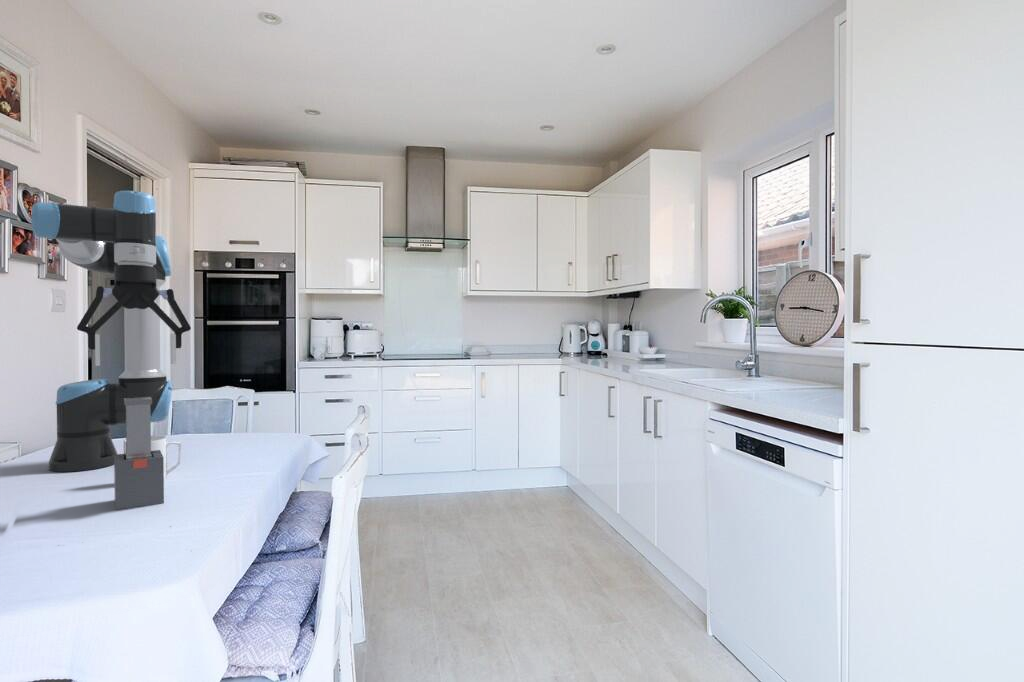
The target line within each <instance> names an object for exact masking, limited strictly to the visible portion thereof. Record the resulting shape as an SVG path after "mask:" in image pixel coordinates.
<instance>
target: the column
mask: <svg viewBox="0 0 1024 682" xmlns="http://www.w3.org/2000/svg"><path fill="white" fill-rule="evenodd" d="M150 404H152V398H151V397H140V398H124V405H125V406H126V424H125V439H126V460H129V459H138V458H147V457H152V454H151V435H152V432H151V431H152V429H151V426H152V425H151V424H152V422H151V411H150Z"/></svg>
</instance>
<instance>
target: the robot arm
mask: <svg viewBox="0 0 1024 682" xmlns="http://www.w3.org/2000/svg"><path fill="white" fill-rule="evenodd" d="M113 196H114V197H113V204H112V206H113V207H112V208H108V207H107V208H106V207H96V206H85V205H77V204H76V205H75V204H65V203H56V202H42V201H41V202H39V201H38V202H35V203H33V205H32V207H31V214H30V215H31V216H30V218H31V229H32V232H33V234H34V235H35V236H36V237H37V238H41V239H49V240H53V239H55V240H56V242H57V243H58V248H59V252H60V253H61V255H62V256H63V257H64V258H65V259H66V260H67V261H69V262H70V263H72V265H75V266H77V267H80V268H83V269H84V270H85V269H86V270H89V271H92V272H95V273H96V272H97V273H103V274H114V286H113V288H108V287H104V286H101V285H99V286H97V287H96V292H95V297H94V299H93V300H92V302H91V304H90V305H89V307H88V309H87V310H86V312H84V315H83V317H82V318H81V320H80V321H79V323H78V325H77V327H76V329H77V330H78V331H80V332H84V333H85V334H87V339H88V340H87V347H88V350H94V355H95V359H94V360H95V361H94V363H95V364H94V365H95V367H99V366H101V361H100V358H101V353H100V352H101V350H100V349H101V347H100V346H101V345H100V344H101V342H100V341H101V340H100V339H101V337H100V333H98V334H97V333H96V332H97V331H98V330H100V328H101V327H102V326H103V325H104V324H105V323H107V322H108V320H110V319H111V317H113V316H114V315H115V314H116V312H118V311H119V310H120V309H121V308H122V307H123V308H124V309H123V310H124V311H123V312H124V314H123V316H124V320H123V323H124V327H123V329H124V371H123V372H121V374H120V375H119V376H118V382H117V383H111V382H110V379H109V378H96V379H87V380H82V381H75V382H69V383H67V384H63V385H61V386H59V387H58V389H57V390H56V402H55V405H56V442H55V444H54V447H53V450H52V452H51V454H50V458H49V460H48V470H49V471H52V472H58V473H59V472H60V473H61V472H63V473H64V472H66V473H67V472H69V473H70V472H79V471H80V472H81V471H90V470H91V471H92V470H95V469H101V468H106V467H110V466H112V465H113V466H114V455H117V454H118V452H117V449H116V446H115V444H114V442H113V439H112V437H111V430H110V429H111V427H110V426H116V425H118V426H120V425H126V406H125V405H124V398H140V397H151V398H152V404H150V411H151V423H157V422H162V421H165V420H166V419H167V418H168V416H169V409H170V405H171V398H172V389H173V382H172V380H171V381H170V380H168V379H167V374H166V373H165V372H163V370H161V321H163V323H165V325H166V326H167V327H168V328H170V330H171V331H172V332H173V333H170V364H172V365H173V364H174V365H175V364H177V349H181V348H182V335H183V333H185V332H189V331H191V329H192V328H191V325H190V324H189V322H188V321H187V318H186V316H185V314H184V313H183V312H182V310H181V307H180V306H179V305H178V302H177V300H176V299H175V294H174V290H173V289H172V288H168V289H160V288H161V286H163V285H164V284H165V283H166V277H170V276H171V275H172V269H171V263H170V262H171V261H170V255H169V249H168V246H167V241H166V239H165V238H164V237H163V236H161V235H157V219H156V218H157V214H156V213H157V207H156V199H155V197H154V196H153V195H152V194H149V193H146V192H143V191H142V192H141V191H135V190H120V191H119V190H118V191H116V192H115V193H114V194H113ZM109 295H112V296H113V297H114V298H115V299H116V300H117V302H115V303H114V304H113V305H112V306H111V307H110V308H109V309H108V310H107V311H106V312H105V313H104V314H103V315H102V316H101V317H100V318H98V320H97V321H95V322H94V324H92V325H91V327H90V326H88V323H90V321H91V319H92V317H93V316H94V314H95V312H96V311H97V309H98V307H99V306H100V304H101V302H102V300H103V299H105V298H108V296H109ZM160 296H161V297H162V298H163V299H164V300H165V301H166V300H167V304H168V305H169V307H170V309H171V310H172V313H173V314H174V315H175V317H176V319H177V321H178V323H179V324H180V326H181V327H180V326H178V324H176V323H175V322H174V321H173V320H172V319H171V317H169V316H168V314H167V313H165V311H164V310H162V309H161V307H160V305H161V303H160Z"/></svg>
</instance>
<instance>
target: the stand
mask: <svg viewBox="0 0 1024 682" xmlns="http://www.w3.org/2000/svg"><path fill="white" fill-rule="evenodd" d="M151 454H152V457H147V458H138V459H129V460H126V454H124V453H119V454H118V453H117V455H114V464H113V467H114V468H113V473H114V475H113V477H114V479H113V480H114V481H113V482H114V484H113V485H114V507H115V511H116V512H117V511H122V510H129V509H137V508H143V507H149V506H150V507H151V506H157V505H163V504H165V488H164V487H165V482H164V481H165V479H164V459H163V455H162V453H161V451H160V450H155V451H151Z"/></svg>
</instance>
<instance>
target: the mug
mask: <svg viewBox="0 0 1024 682" xmlns="http://www.w3.org/2000/svg"><path fill="white" fill-rule="evenodd" d="M167 439H168V437H167V436H166V435H163V434H162V435H161V434H160V435H159V434H157V435H156V434H154V435H153V434H151V451H155V450H160V451H161V453H162V455H163V459H164V480H165V479H167V478H168V475H169V474H170V473H171V472H172V471H174V470H176V469H177V468H178V467H179V466H180V464H181V459H182V458H181V457H182V442H178V441H170V442H168V440H167ZM170 445H177V446H178V458H177V463H176V464H175V465H173V466H172V467H171V468H169V469H168V452H167V448H168V447H169V446H170ZM123 454H126V438H125V439H124V440H123Z"/></svg>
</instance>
